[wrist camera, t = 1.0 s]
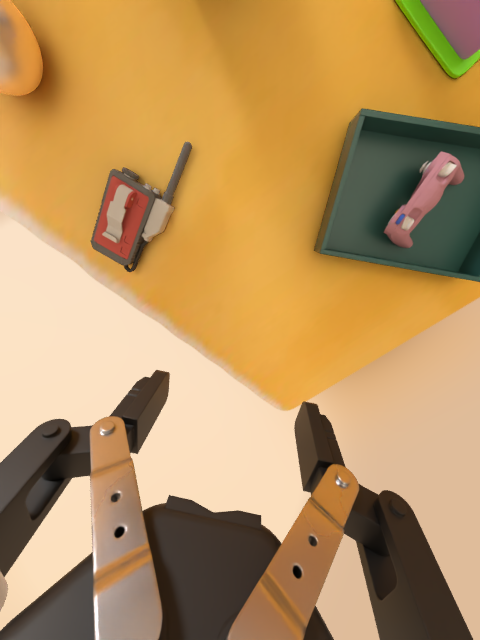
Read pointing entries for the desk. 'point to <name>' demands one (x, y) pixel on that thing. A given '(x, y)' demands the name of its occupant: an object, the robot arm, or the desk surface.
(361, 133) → the tray
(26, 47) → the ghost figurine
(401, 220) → the video game controller
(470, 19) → the dollhouse room
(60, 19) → the desk surface
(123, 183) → the walkie-talkie
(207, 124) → the desk surface
